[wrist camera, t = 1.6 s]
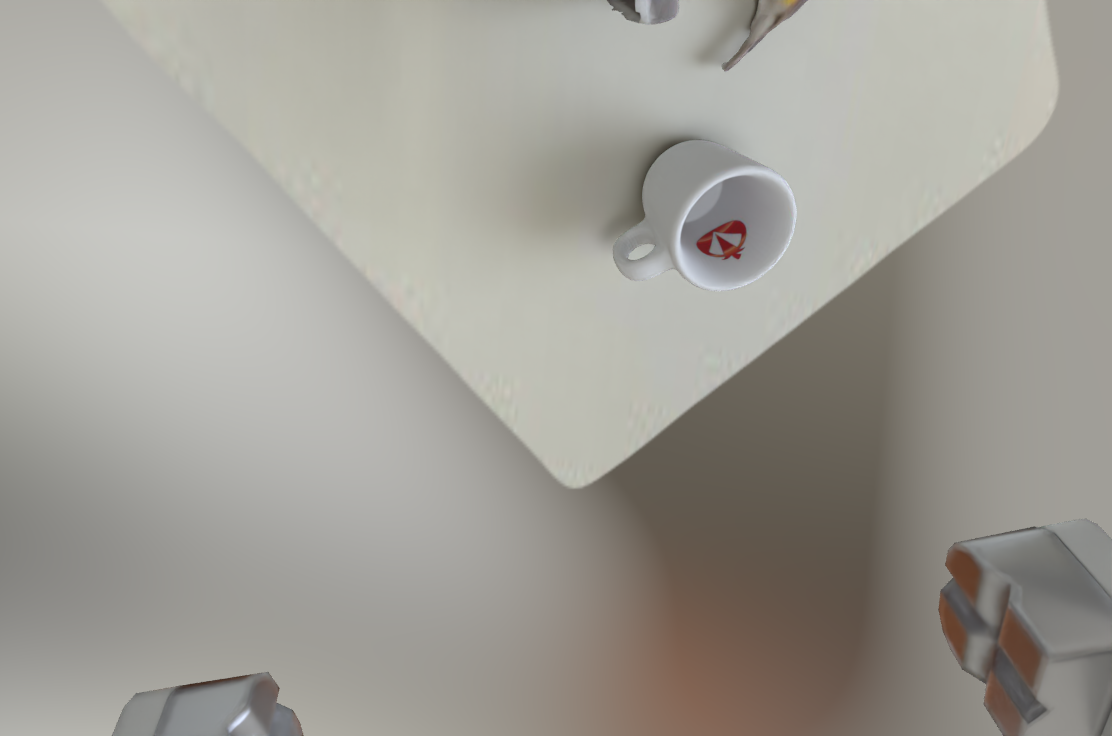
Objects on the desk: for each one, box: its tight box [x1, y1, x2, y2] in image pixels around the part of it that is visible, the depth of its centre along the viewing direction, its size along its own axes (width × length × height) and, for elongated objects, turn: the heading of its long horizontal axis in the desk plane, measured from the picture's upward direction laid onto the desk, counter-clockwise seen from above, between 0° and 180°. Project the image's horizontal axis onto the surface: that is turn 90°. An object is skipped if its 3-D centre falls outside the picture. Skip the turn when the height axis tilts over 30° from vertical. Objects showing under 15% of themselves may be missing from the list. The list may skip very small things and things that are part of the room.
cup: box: [613, 140, 797, 291], centre depth 49 cm, size 11×8×8 cm
